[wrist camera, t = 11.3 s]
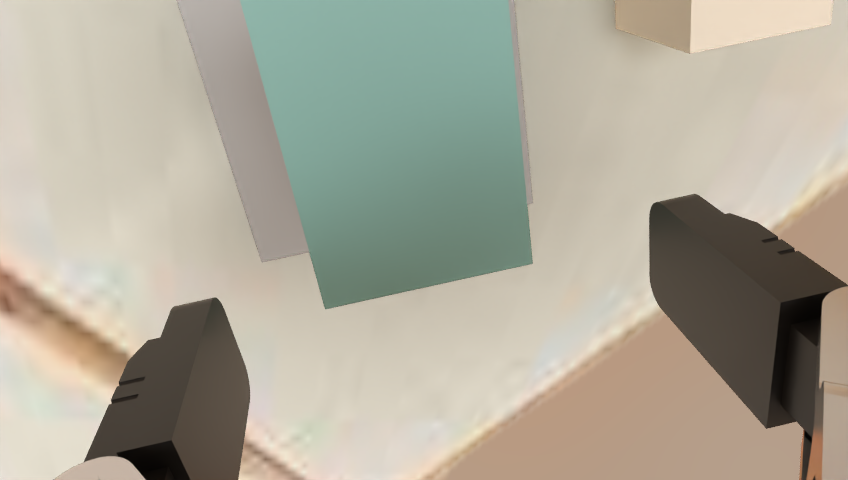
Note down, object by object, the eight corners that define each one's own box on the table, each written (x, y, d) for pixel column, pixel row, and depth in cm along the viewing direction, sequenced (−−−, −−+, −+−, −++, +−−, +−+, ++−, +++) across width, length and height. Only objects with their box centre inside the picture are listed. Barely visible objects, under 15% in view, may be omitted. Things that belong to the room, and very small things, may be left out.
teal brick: (433, -148, 16) (491, -183, 11) (475, 176, 21) (533, 263, 15) (239, -114, 16) (203, -134, 11) (321, 207, 20) (325, 309, 15)
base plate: (495, -103, 24) (504, -104, 23) (525, 192, 29) (533, 203, 28) (170, -42, 23) (163, -41, 22) (263, 249, 28) (261, 262, 27)
